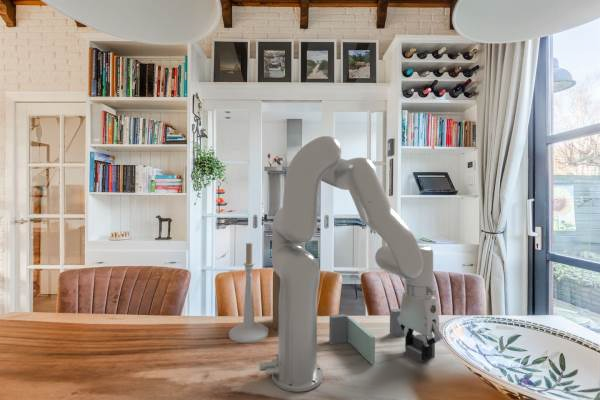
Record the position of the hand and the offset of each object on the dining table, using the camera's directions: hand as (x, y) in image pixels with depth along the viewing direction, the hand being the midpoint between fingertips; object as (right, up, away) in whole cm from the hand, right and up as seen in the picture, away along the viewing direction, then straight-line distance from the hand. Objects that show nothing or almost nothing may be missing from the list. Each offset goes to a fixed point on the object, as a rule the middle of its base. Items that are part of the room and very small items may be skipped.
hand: (418, 353), depth 85 cm
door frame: (-11, -1, +11) cm, 16 cm away
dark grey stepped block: (+1, -1, 0) cm, 1 cm away
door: (-16, 0, +3) cm, 16 cm away
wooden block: (-37, -1, +21) cm, 43 cm away
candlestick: (-50, -1, +14) cm, 52 cm away
